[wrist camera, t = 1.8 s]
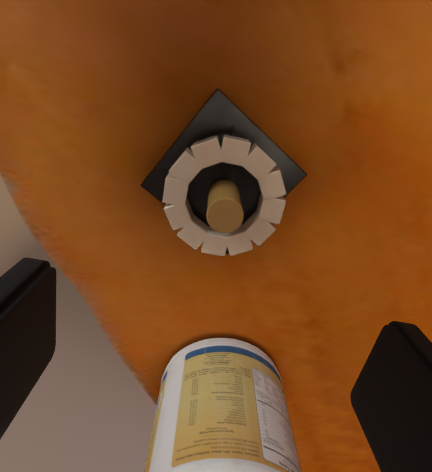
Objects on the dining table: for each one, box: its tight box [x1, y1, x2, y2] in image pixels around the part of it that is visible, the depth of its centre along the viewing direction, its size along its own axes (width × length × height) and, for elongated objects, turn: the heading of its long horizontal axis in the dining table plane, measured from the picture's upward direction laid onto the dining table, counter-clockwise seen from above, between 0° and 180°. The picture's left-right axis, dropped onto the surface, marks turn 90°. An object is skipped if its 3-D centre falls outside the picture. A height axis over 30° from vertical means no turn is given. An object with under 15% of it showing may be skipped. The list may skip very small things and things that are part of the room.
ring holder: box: [141, 89, 307, 254], centre depth 22 cm, size 9×9×9 cm
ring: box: [162, 135, 286, 256], centre depth 20 cm, size 7×7×1 cm
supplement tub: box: [144, 338, 302, 472], centre depth 26 cm, size 12×12×17 cm
